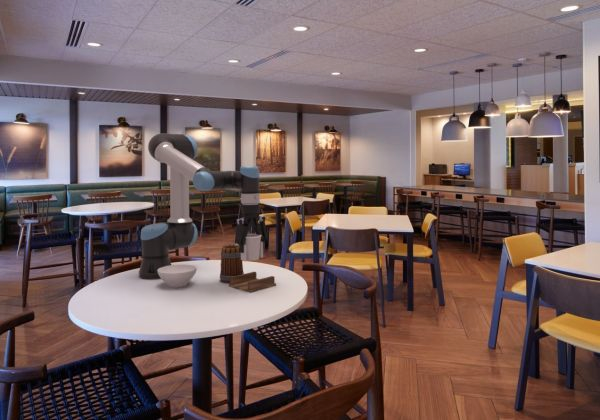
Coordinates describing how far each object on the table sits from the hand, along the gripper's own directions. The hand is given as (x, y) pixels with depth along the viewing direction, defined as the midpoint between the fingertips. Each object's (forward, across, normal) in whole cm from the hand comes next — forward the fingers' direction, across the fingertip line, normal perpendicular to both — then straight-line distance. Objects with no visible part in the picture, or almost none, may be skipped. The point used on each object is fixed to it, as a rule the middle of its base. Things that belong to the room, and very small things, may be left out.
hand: (252, 258), depth 182 cm
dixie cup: (0, 0, 0) cm, 0 cm away
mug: (+12, +2, +15) cm, 19 cm away
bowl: (+12, -20, +25) cm, 34 cm away
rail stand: (+12, 0, 0) cm, 12 cm away
